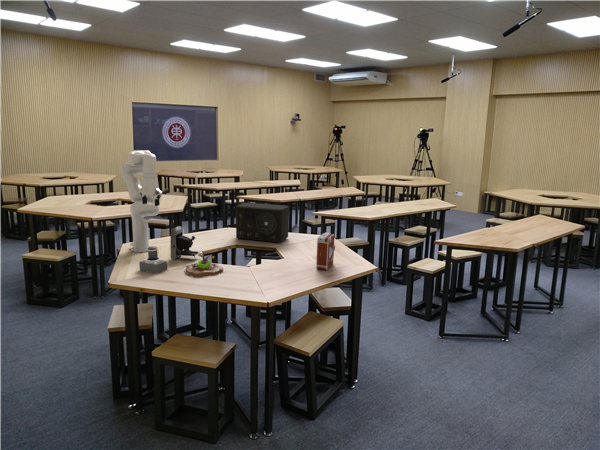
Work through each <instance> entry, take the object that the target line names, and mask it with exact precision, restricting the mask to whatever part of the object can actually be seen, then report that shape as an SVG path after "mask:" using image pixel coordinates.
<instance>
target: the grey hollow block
mask: <svg viewBox="0 0 600 450" xmlns="http://www.w3.org/2000/svg"><path fill="white" fill-rule="evenodd" d="M138 265H139V271H141V272H147V273H150V272H151V273H152V274H155V275H156V273H157V274H159V273H163V272H164V271H167V270H168V261H167V260H164V259H162V257H161V256H158V260H153V261H150V260H148V257H146V258H145V259H143V260H141V261H139V264H138ZM151 273H150V274H151Z"/></svg>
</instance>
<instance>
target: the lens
mask: <svg viewBox="0 0 600 450" xmlns="http://www.w3.org/2000/svg"><path fill="white" fill-rule="evenodd" d="M147 256H148V257H147V258H148V260H150V261H153V260H158V257H159V256H158V247H157V246H153V245H152V246H150V247H148V251H147Z"/></svg>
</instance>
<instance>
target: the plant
mask: <svg viewBox="0 0 600 450" xmlns="http://www.w3.org/2000/svg"><path fill="white" fill-rule="evenodd" d="M197 256H198V257H200V258H202V259H199V260H197V261H195V262H194V263H191V264H189V265H187V266H186V267H185V273H186V274H187V275H188V276H192V277H195V278H200V277H201V278H202V277H209V276H216V275H219V274H222V273H224V267H223V266H221V265H219V264H218V263H213V262H211V261H212V260H211V259H209V258H210V257H211V258H212V259H215V256H214V255H212V254H210V255H207V257H205V255H204V253H203V252H200V253H198V254H197Z"/></svg>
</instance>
